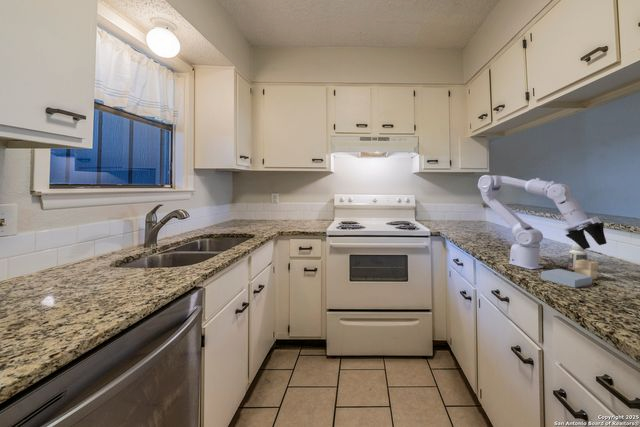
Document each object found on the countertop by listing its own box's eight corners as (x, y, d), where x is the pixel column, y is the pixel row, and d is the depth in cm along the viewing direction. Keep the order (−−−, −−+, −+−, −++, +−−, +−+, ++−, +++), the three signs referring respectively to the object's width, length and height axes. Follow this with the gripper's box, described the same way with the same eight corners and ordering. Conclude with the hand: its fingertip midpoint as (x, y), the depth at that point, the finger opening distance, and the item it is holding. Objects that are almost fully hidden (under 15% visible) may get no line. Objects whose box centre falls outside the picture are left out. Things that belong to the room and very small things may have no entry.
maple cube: (574, 276, 102) (575, 260, 101) (581, 274, 103) (582, 259, 103) (589, 279, 97) (591, 263, 97) (596, 278, 99) (598, 262, 98)
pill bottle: (587, 269, 109) (589, 246, 108) (583, 272, 106) (585, 247, 105) (570, 266, 114) (571, 243, 113) (565, 268, 111) (567, 245, 110)
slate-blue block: (540, 279, 99) (541, 271, 99) (557, 276, 103) (558, 268, 102) (574, 289, 90) (575, 280, 89) (591, 285, 93) (592, 276, 93)
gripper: (598, 202, 94) (623, 238, 90) (569, 214, 108) (591, 247, 103) (577, 208, 95) (601, 245, 90) (551, 220, 108) (572, 252, 104)
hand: (594, 246), depth 97 cm, fingers open, 7 cm apart
